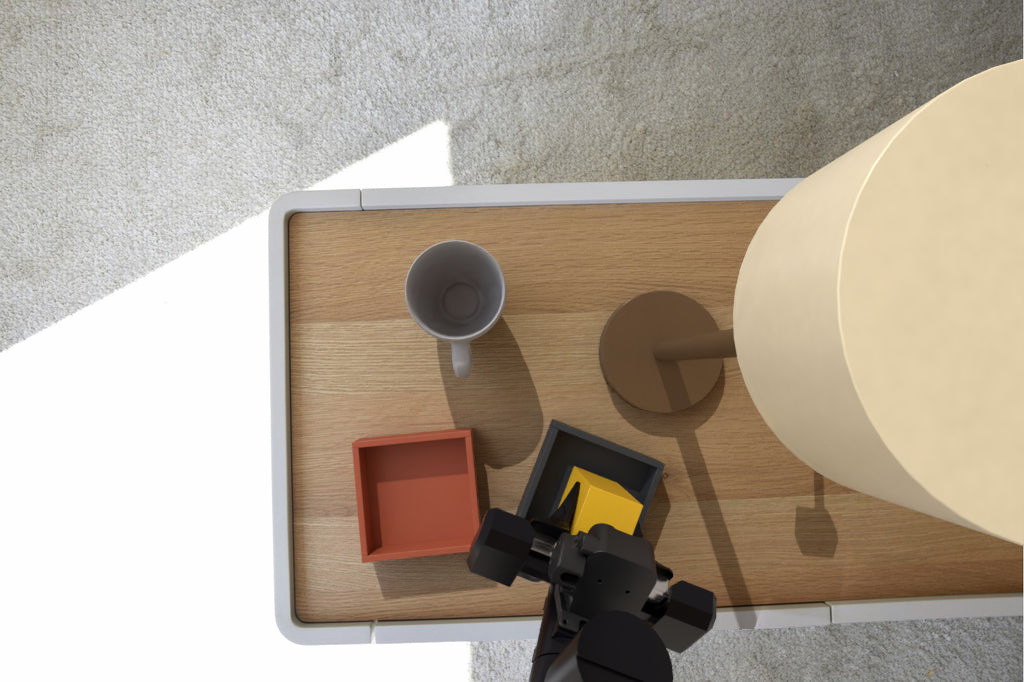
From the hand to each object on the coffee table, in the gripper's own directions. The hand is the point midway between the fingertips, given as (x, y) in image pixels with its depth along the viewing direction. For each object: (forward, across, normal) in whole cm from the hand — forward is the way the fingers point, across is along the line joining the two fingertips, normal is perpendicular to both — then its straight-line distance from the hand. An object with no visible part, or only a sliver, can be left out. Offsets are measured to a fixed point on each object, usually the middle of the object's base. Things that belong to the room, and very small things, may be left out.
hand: (603, 494), depth 57 cm
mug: (+13, +18, -1) cm, 22 cm away
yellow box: (+3, 0, +5) cm, 6 cm away
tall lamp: (+16, -2, -4) cm, 17 cm away
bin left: (+1, +15, +11) cm, 19 cm away
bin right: (+5, 0, +7) cm, 9 cm away
